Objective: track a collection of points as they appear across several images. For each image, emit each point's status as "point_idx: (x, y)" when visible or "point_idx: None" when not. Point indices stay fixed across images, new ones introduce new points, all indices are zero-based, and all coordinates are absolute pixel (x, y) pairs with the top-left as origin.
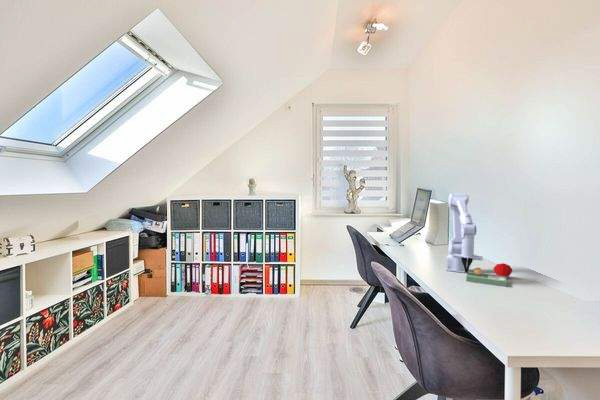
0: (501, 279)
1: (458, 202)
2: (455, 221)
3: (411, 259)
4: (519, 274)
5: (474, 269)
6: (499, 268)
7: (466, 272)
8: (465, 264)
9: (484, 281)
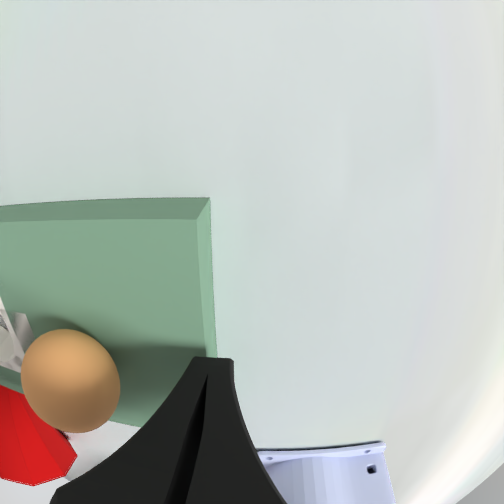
0: None
1: None
2: None
3: (482, 468)
4: None
5: (92, 399)
6: (18, 451)
7: (210, 361)
8: (212, 469)
9: (16, 210)
